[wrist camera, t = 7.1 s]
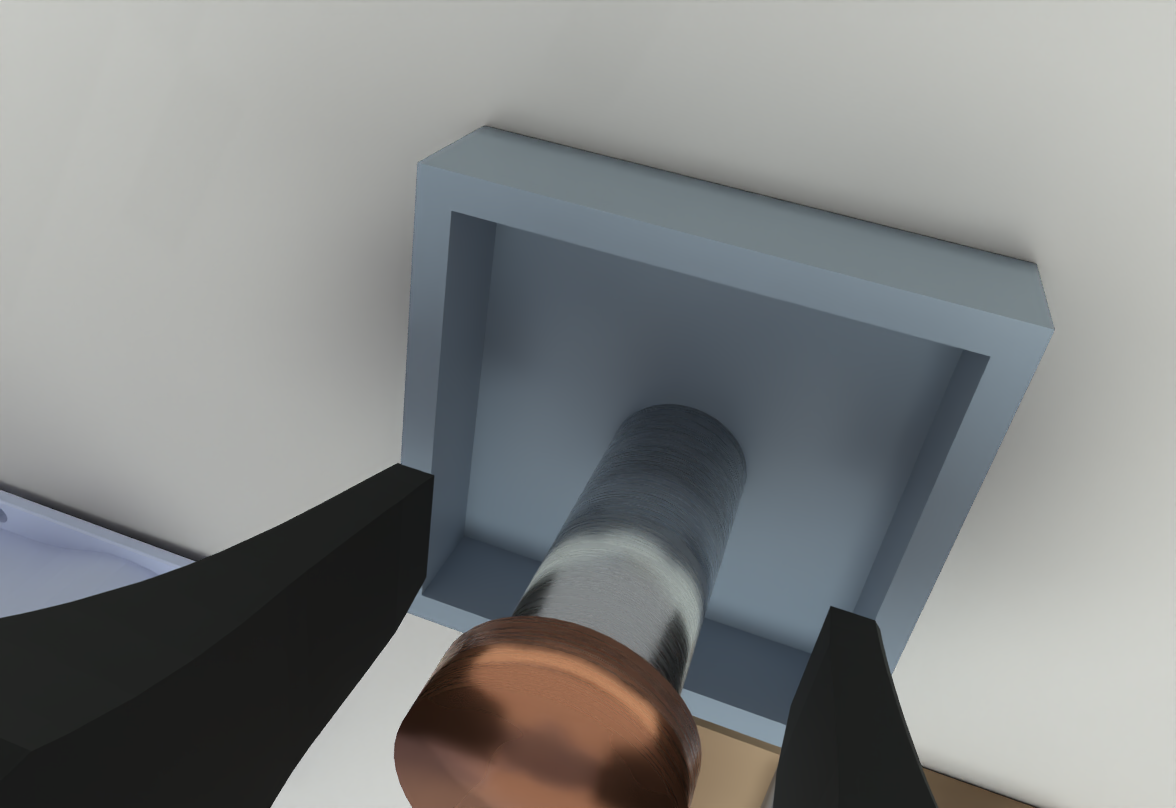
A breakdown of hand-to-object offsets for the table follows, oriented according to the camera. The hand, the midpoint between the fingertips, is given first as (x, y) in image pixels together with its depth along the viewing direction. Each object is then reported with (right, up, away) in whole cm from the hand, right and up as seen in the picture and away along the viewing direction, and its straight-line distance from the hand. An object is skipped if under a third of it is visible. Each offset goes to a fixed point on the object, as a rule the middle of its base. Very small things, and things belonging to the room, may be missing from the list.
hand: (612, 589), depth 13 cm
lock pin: (+1, +2, +4) cm, 4 cm away
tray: (+2, +2, +4) cm, 5 cm away
